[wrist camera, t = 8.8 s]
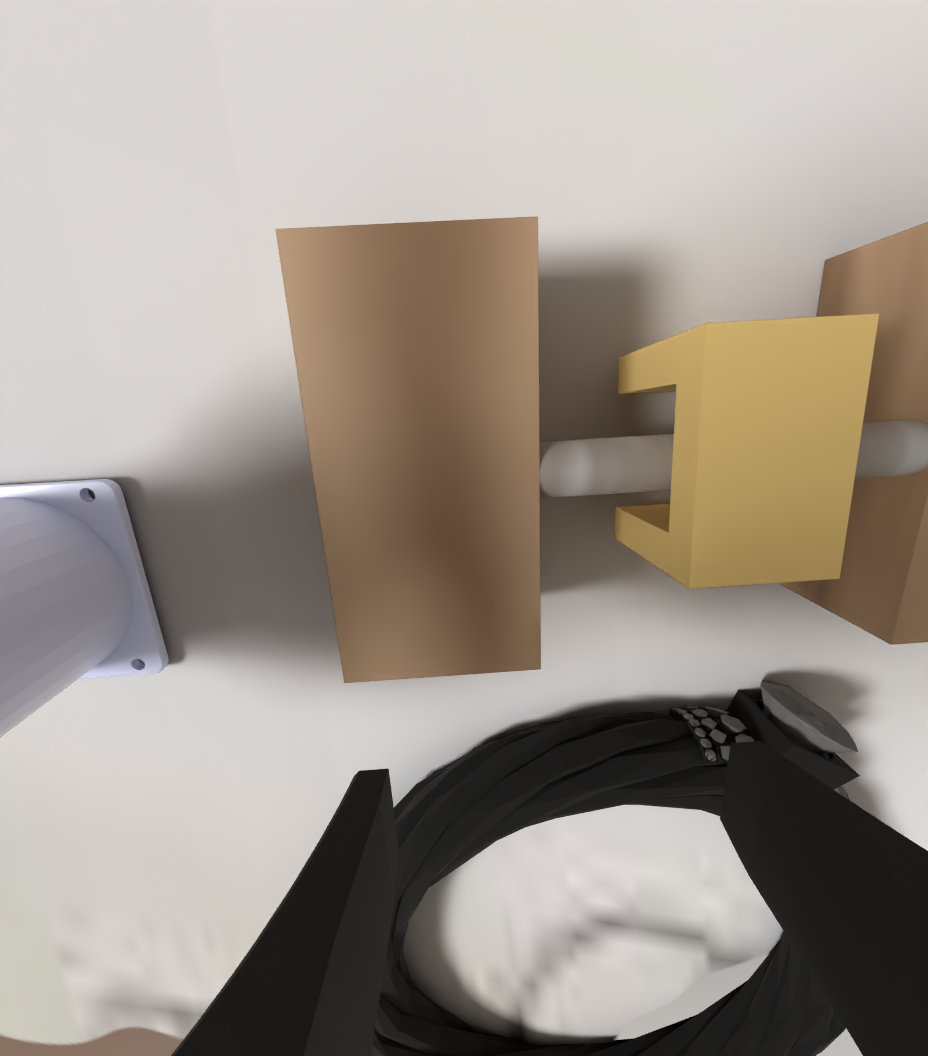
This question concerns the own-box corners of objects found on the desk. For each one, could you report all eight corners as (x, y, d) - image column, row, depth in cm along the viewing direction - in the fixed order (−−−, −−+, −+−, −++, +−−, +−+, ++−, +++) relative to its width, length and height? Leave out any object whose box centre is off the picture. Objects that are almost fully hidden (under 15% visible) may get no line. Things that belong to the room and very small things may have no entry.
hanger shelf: (371, 608, 18) (344, 683, 13) (331, 285, 15) (275, 229, 10) (913, 571, 19) (1076, 631, 14) (994, 251, 15) (1244, 182, 10)
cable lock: (229, 1092, 21) (540, 588, 14) (261, 990, 25) (521, 550, 18) (684, 1202, 26) (1091, 857, 19) (654, 1102, 29) (986, 782, 22)
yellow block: (614, 538, 16) (688, 588, 11) (618, 357, 15) (706, 322, 10) (719, 531, 17) (839, 578, 11) (734, 351, 15) (879, 313, 10)
